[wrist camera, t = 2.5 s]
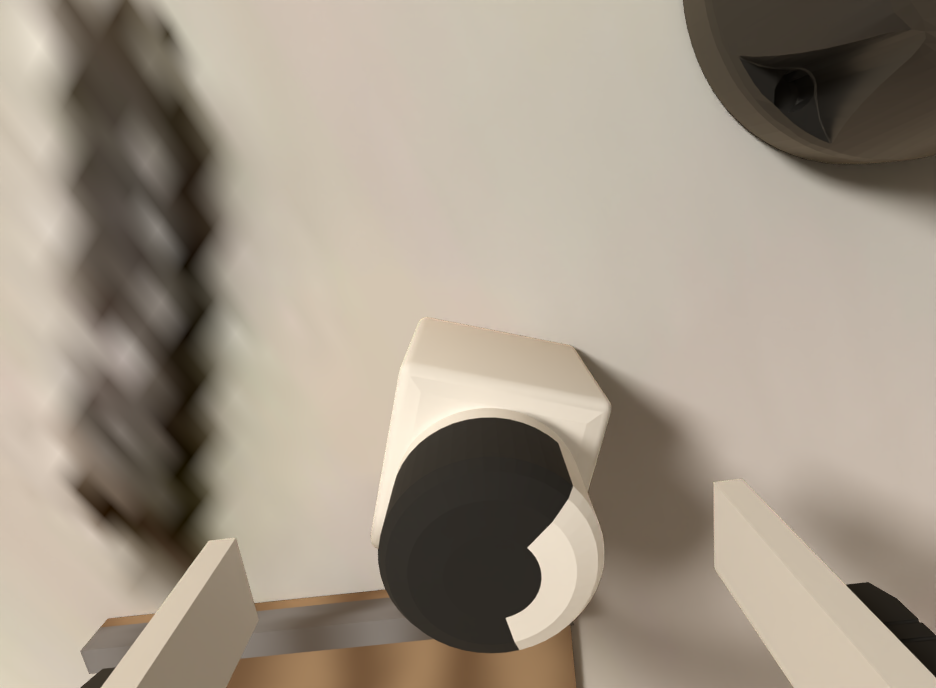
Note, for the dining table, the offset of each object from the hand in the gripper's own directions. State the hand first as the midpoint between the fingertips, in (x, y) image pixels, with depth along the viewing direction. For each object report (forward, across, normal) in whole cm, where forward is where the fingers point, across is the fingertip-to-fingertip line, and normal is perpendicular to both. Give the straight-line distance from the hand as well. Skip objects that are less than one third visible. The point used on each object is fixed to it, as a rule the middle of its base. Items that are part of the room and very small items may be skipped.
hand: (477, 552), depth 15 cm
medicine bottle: (+11, 0, 0) cm, 11 cm away
